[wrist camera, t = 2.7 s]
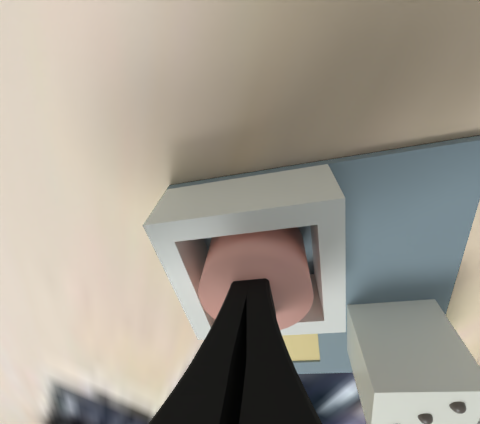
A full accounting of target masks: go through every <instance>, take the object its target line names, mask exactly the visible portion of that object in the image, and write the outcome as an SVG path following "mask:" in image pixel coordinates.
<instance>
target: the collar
mask: <svg viewBox="0 0 480 424" xmlns="http://www.w3.org/2000/svg"><path fill="white" fill-rule="evenodd" d="M303 226H310V230H311V241H312V253H313V264H314V274H311V275H310V278H311V283H312V288H313V293H314V296H313V304H312V306H311V309H310V310H309V312H308V313H307V314H306V316H305V317H304V318H303V319H301V320H300V321H299V322H297V323H296V324H294V325H292V326H290V327H288V328H285V329H282V330H280V331H281V334H282V335H301V334H321V333H340V332H346V240H345V196H344V194H343V192H342V191H341V189H340V187H339V185H338V183H337V181H336V179H335V177H334V175H333V173H332V171H331V169H330V167H329V165H328V164H324V165H318V166H312V167H305V168H299V169H293V170H286V171H280V172H274V173H267V174H261V175H255V176H248V177H242V178H236V179H229V180H223V181H217V182H210V183H204V184H198V185H191V186H185V187H179V188H172V189H167V190H166V191H165V193H164V194H163V196H162V197H161V199H160V200H159V202H158V203H157V205H156V206H155V208H154V209H153V211H152V212H151V214H150V215H149V217H148V218H147V220H146V221H145V223H144V224H143V227H144V229H145V231H146V233H147V235H148V237H149V239H150V241H151V243H152V246H153V248H154V250H155V252H156V254H157V256H158V258H159V260H160V262H161V264H162V266H163V268H164V270H165V272H166V274H167V277H168V279H169V281H170V283H171V285H172V287H173V289H174V291H175V293H176V295H177V297H178V299H179V301H180V303H181V306H182V308H183V310H184V312H185V314H186V316H187V318H188V320H189V322H190V324H191V326H192V328H193V330H194V332H195V335H196V337H197V339H198V340H204V339H205V338H206V336H207V334H208V333H209V331H210V329H211V327H212V325H213V323H214V321H215V319H214V318H212V317H211V316H210V315H209V314H208V313H207V312H206V311H205V309H204V308H203V306H202V304H201V302H200V300H199V295H198V287H199V283H200V279H201V275H202V272H203V268H204V264H205V261H206V257H207V253H208V249H207V246H206V243H205V241H204V238H211V237H220V236H228V235H236V234H245V233H253V232H261V231H270V230H278V229H286V228H294V227H303Z"/></svg>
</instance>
